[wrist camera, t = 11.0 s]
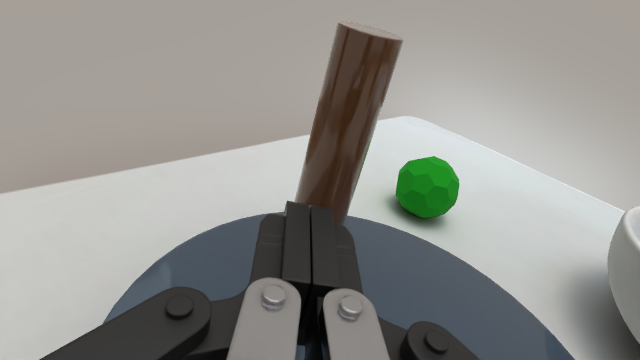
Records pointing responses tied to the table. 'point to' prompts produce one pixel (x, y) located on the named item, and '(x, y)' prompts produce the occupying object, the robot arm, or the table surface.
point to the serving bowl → (626, 269)
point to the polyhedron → (427, 187)
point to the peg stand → (361, 227)
